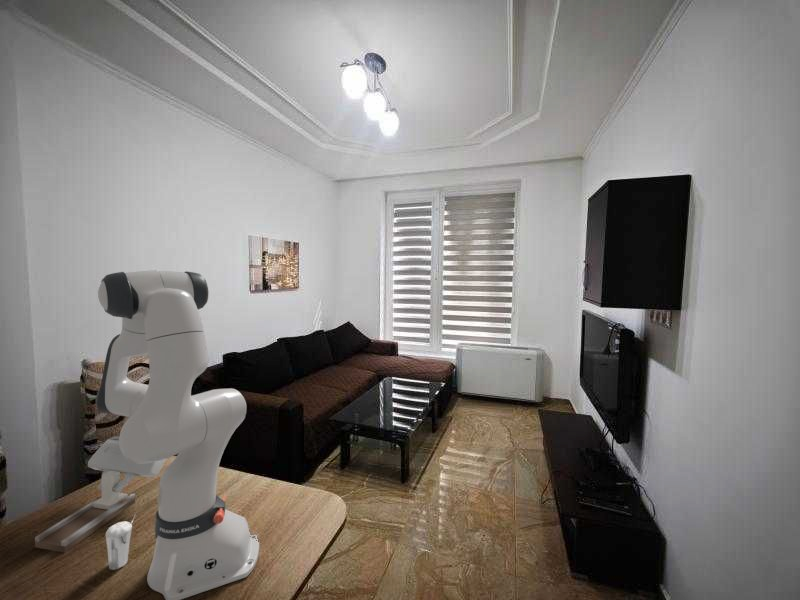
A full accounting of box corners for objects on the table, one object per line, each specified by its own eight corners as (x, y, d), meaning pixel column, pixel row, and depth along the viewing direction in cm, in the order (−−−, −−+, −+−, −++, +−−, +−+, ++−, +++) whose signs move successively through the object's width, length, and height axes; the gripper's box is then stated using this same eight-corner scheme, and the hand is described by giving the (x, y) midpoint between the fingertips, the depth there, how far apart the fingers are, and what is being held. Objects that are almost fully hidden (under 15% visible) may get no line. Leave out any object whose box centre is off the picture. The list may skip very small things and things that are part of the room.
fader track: (110, 498, 96) (110, 489, 96) (135, 502, 95) (135, 493, 95) (34, 547, 79) (35, 536, 78) (64, 552, 78) (64, 541, 77)
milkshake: (139, 559, 77) (139, 518, 76) (109, 576, 72) (110, 532, 72) (130, 550, 79) (131, 509, 79) (101, 565, 75) (102, 522, 74)
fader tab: (110, 495, 95) (111, 467, 95) (127, 498, 94) (127, 469, 94) (92, 507, 90) (93, 477, 90) (110, 509, 90) (110, 480, 89)
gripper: (103, 431, 100) (66, 482, 90) (165, 439, 97) (134, 492, 88) (117, 439, 104) (83, 488, 95) (177, 447, 102) (148, 498, 93)
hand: (108, 490), depth 91 cm, fingers closed on fader tab, 3 cm apart
